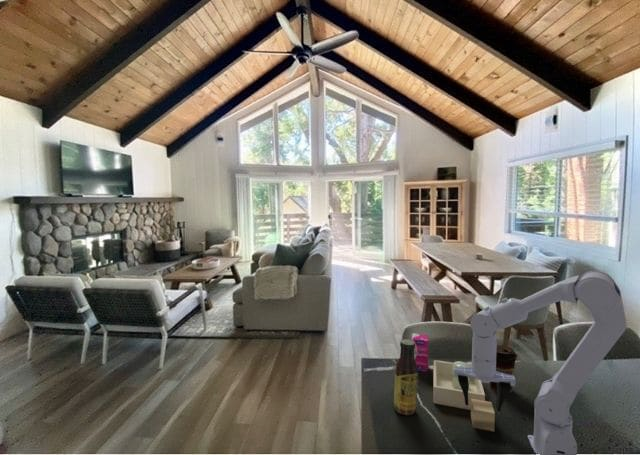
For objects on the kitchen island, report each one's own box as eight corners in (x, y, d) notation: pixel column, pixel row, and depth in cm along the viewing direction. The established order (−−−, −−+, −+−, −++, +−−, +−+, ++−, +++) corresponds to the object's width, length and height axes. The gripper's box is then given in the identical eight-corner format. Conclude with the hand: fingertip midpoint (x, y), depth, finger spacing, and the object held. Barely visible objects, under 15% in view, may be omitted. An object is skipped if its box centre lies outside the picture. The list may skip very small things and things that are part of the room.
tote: (484, 412, 91) (485, 395, 91) (433, 403, 96) (433, 386, 95) (476, 380, 108) (477, 366, 108) (433, 374, 112) (433, 360, 112)
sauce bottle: (400, 418, 89) (401, 348, 88) (389, 405, 95) (390, 339, 94) (421, 414, 91) (422, 345, 89) (409, 401, 97) (410, 336, 95)
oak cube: (494, 431, 84) (494, 413, 83) (472, 427, 85) (473, 409, 85) (490, 419, 88) (491, 402, 88) (470, 416, 90) (471, 398, 90)
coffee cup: (521, 398, 98) (522, 356, 97) (491, 395, 100) (492, 354, 99) (510, 382, 106) (511, 344, 106) (482, 380, 108) (483, 342, 107)
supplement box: (410, 370, 115) (411, 338, 114) (411, 362, 121) (411, 332, 120) (428, 372, 113) (428, 340, 112) (427, 364, 119) (428, 334, 118)
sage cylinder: (470, 392, 100) (472, 370, 100) (453, 389, 101) (455, 368, 101) (466, 383, 105) (468, 362, 104) (450, 380, 106) (452, 360, 105)
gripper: (455, 359, 84) (453, 409, 85) (519, 368, 79) (516, 421, 80) (453, 347, 91) (452, 394, 92) (512, 355, 86) (510, 404, 87)
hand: (482, 406), depth 87 cm, fingers open, 7 cm apart
